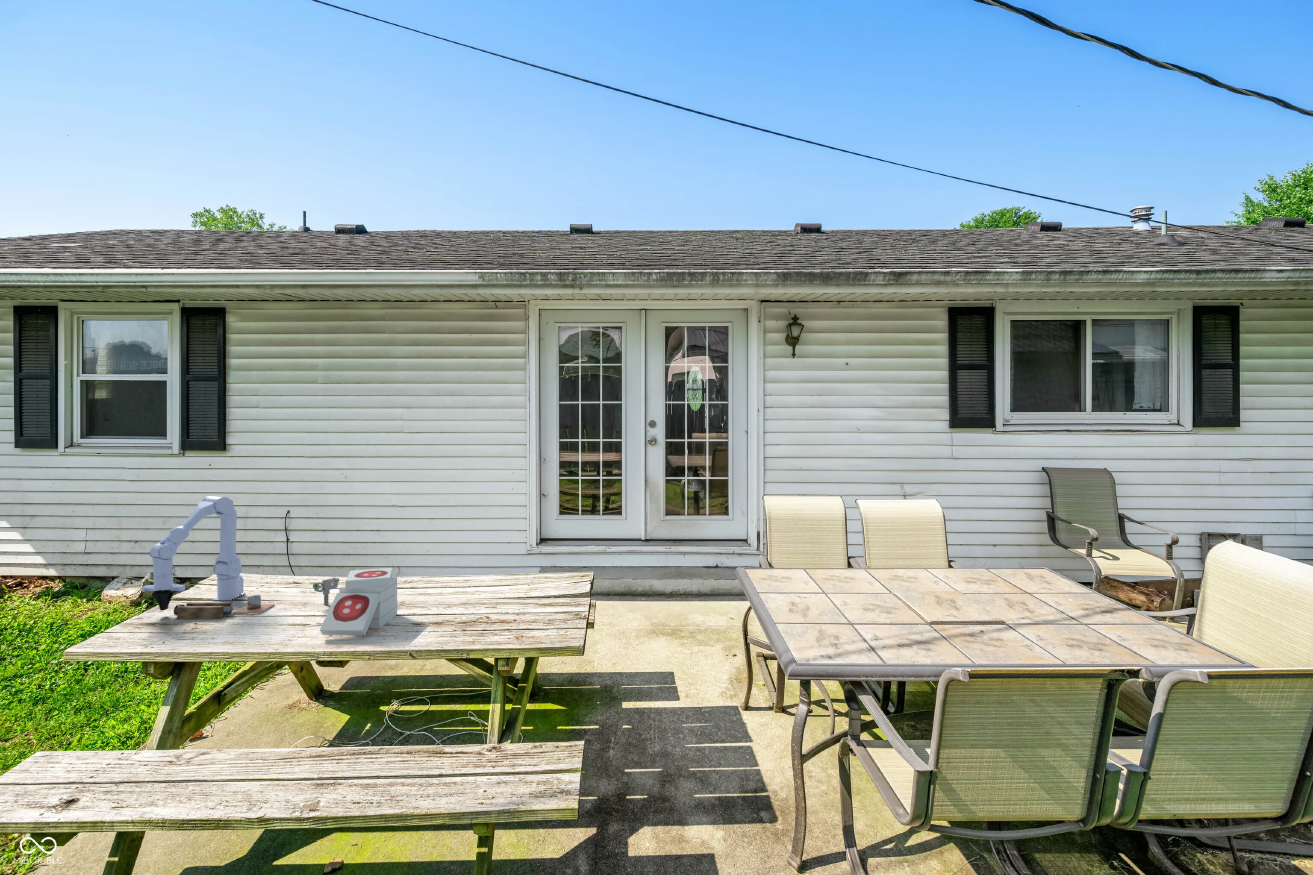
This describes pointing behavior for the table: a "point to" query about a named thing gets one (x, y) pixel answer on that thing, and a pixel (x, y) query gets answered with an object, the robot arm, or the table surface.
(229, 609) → the shaft
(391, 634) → the table surface
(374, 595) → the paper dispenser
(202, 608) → the shaft housing
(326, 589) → the mechanical component
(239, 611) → the terracotta tile
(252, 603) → the block
